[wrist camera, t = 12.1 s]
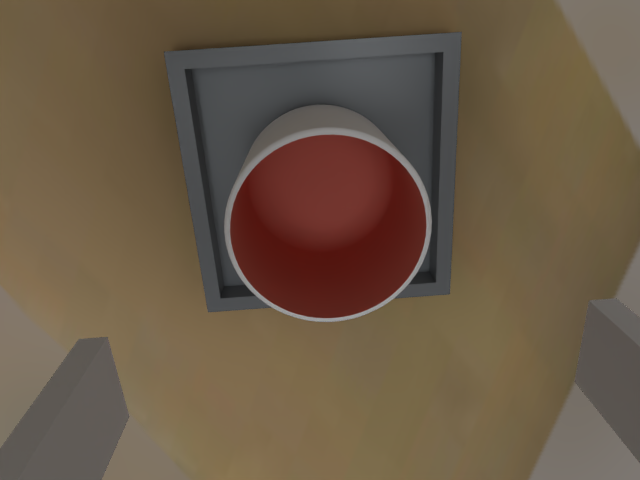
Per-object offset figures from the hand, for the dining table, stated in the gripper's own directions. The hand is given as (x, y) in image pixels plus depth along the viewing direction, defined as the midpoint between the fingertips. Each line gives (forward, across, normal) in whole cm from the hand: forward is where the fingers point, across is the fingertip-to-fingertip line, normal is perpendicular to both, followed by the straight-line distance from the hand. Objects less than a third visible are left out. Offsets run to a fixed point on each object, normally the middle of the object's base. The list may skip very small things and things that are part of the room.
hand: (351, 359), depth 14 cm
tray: (+21, 0, -1) cm, 21 cm away
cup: (+21, 0, -1) cm, 21 cm away
